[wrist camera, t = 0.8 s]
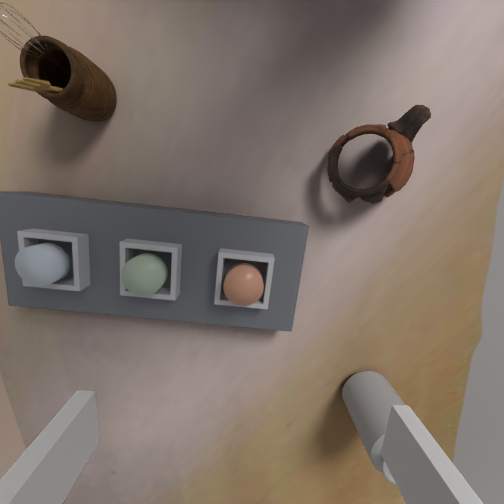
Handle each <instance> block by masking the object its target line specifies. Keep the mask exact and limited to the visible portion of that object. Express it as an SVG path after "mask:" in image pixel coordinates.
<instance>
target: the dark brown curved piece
mask: <svg viewBox="0 0 504 504" xmlns="http://www.w3.org/2000/svg"><path fill="white" fill-rule="evenodd" d="M430 117H431V113H430V109H429V108H427V107H425V106H424V105H415V106H414V107H412V108H411V109H410V110H409V111H408V112H406V113H405V114H404V115H403V116H402V117H401V118H400V119H399V120H397V121H395V122H390V123H388V127H389V128H386V126H385V125H364V126H360V127H356V128H355V129H353V130H351V131H350V132H348V133H347V134H346V135H342V136H341V137H340V138H339V139H338V140H337V141H336V143H335V144H334V146H333V147H332V150H331V151H330V153H329V157H328V167H327V168H328V176H329V180H330V182H332V185H333V188H334V189H335V190H336V191H337V192H338V193H339V194H340V195H341V196H342V197H343V198H344V199H345V200H346V201H347V202H349V203H350V202H351V201H353V200H354V199H355V198H357V197H360V198H361V199H362V200H364V201H365V202H371V203H372V204H374V203H377V202H380V201H381V200H382V197H383V195H385V196H386V197H389V196H391V195H392V194H394V193H395V192H396V191H399V190H400V189H401V188H402V187H403V186H405V184H406V183H407V181H408V180H409V178H410V176H411V174H412V170H413V164H414V150H413V149H412V141H413V139H414V137H415V136H416V134H417V132H418V131H419V129H420V128H421V127H422V125H423V124H424V123H425V122H426V121H427V120H428V119H429V118H430ZM363 134H377V135H379V136H381V137H384V138H385V139H386V140H387V141H388V142H389V143H390V145H391V147H392V150H393V164H392V167H391V169H390V171H389V173H388V174H387V176H386V177H385V178H384V180H382V181H381V182H380V183H379V184H377V185H375V186H373V187H371V188H367V189H354V188H351V187H349V186H347V185H346V184H345V183H344V182H343V181H342V180H341V178H340V176H339V173H338V167H337V164H338V159H339V155H340V153H341V151H342V147H343V146H344V145H345V144H346V143H347V142H348V141H349V140H352V139H354V138H355V137H358V136H360V135H363ZM388 185H390V186H391V188H390V189H389V190H387V191H386V189H387V187H388ZM385 191H386V192H385Z"/></svg>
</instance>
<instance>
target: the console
mask: <svg viewBox="0 0 504 504" xmlns="http://www.w3.org/2000/svg"><path fill="white" fill-rule="evenodd" d="M308 228H309V226H307V225H306V224H304V223H302V222H294V221H285V220H276V219H267V218H258V217H249V216H240V215H231V214H222V213H213V212H204V211H195V210H186V209H177V208H168V207H159V206H150V205H141V204H132V203H124V202H115V201H106V200H97V199H88V198H79V197H70V196H61V195H52V194H43V193H34V192H5V191H0V238H1V246H2V254H3V263H4V271H5V279H6V287H7V295H8V303H9V305H10V306H21V307H32V308H43V309H54V310H64V311H75V312H86V313H97V314H108V315H118V316H129V317H140V318H151V319H162V320H172V321H183V322H194V323H205V324H216V325H226V326H237V327H248V328H259V329H270V330H280V331H292V325H293V319H294V313H295V307H296V301H297V295H298V289H299V283H300V277H301V270H302V264H303V258H304V252H305V246H306V240H307V234H308ZM41 243H53V244H56V245H58V246H60V247H61V248H63V249H64V250H65V251H66V253H67V254H68V256H69V258H70V262H71V267H70V271H69V273H68V274H67V275H66V276H65V277H64V278H62V279H60V280H57V281H55V282H53V283H51V284H49V285H46V286H34V285H31V284H29V283H27V282H25V281H24V280H23V279H22V278H21V277H20V276H19V274H18V273H17V271H16V268H15V257H16V255H17V253H18V252H19V251H20V250H21V249H23V248H25V247H29V246H33V245H37V244H41ZM143 253H152V254H155V255H157V256H159V257H160V258H161V259H162V260H163V261H164V262H165V263H166V265H167V268H168V277H167V280H166V282H165V283H164V284H163V285H162V286H161V288H160V289H159V290H158V291H157V292H155V293H154V294H152V295H149V296H138V295H135V294H133V293H131V292H130V291H128V290H127V289H126V288H125V286H124V284H123V282H122V279H121V271H122V268H123V266H124V265H125V263H126V262H128V261H129V260H131V259H132V258H134V257H136V256H138V255H140V254H143ZM239 263H248V264H251V265H253V266H255V267H256V268H257V269H258V270H259V271H260V273H261V275H262V279H263V284H264V290H263V293H262V296H261V297H260V299H259V300H258V301H256V302H255V303H253V304H251V305H248V306H239V305H236V304H234V303H232V302H231V301H230V300H228V298H227V297H226V295H225V293H224V288H223V286H224V281H225V277H226V274H227V272H228V270H229V269H230V268H231V267H233V266H234V265H236V264H239Z"/></svg>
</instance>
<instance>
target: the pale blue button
mask: <svg viewBox="0 0 504 504" xmlns="http://www.w3.org/2000/svg"><path fill="white" fill-rule="evenodd" d="M70 267H71V262H70V258H69V256H68V254H67V253H66V251H65V250H64V249H63V248H61V247H60V246H58V245H56V244H53V243H41V244H37V245H33V246H29V247H25V248H23V249H21V250H20V251H19V252H18V253H17V255H16V257H15V268H16V271H17V273H18V274H19V276H20V277H21V278H22V279H23V280H24V281H25V282H27V283H29V284H31V285H34V286H46V285H49V284H51V283H53V282H55V281H57V280H60V279H62V278H64V277H65V276H66V275H67V274H68V273H69V271H70Z"/></svg>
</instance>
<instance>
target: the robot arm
mask: <svg viewBox="0 0 504 504" xmlns="http://www.w3.org/2000/svg"><path fill="white" fill-rule="evenodd" d="M98 444H99V431H98V419H97V406H96V394H95V391H80V390H77V391H76V392H75V393H74V395H73V396H72V397H71V398H70V399H69V400H68V401H67V403H66V404H65V405H64V406H63V407H62V408H61V410H60V411H59V412H58V413H57V414H56V415H55V417H54V418H53V419H52V420H51V421H50V422H49V423H48V425H47V426H46V427H45V428H44V429H43V430H42V432H41V433H40V434H39V435H38V436H37V437H36V439H35V440H34V441H33V442H32V443H31V444H30V445H29V447H28V448H27V449H26V450H25V451H24V452H23V454H22V455H21V456H20V457H19V458H18V460H16V462H15V463H14V464H13V465H12V466H11V467H10V469H9V470H8V471H7V472H6V473H5V475H4V476H3V477H2V478H1V479H0V504H63V503H64V501H65V499H66V498H67V496H68V494H69V492H70V491H71V489H72V487H73V486H74V484H75V482H76V481H77V479H78V477H79V476H80V474H81V472H82V471H83V469H84V467H85V466H86V464H87V462H88V461H89V459H90V457H91V455H92V454H93V452H94V450H95V449H96V447H97V445H98ZM381 455H382V457H383V459H384V461H385V463H386V465H387V467H388V469H389V471H390V473H391V475H392V477H393V479H394V480H395V482H396V484H397V486H398V488H399V490H400V492H401V494H402V496H403V498H404V500H405V502H406V504H483V503H482V501H481V500H480V499H479V497H478V496H477V495H476V494H475V493H474V491H473V490H472V488H471V487H470V486H469V484H468V483H467V482H466V480H465V479H464V478H463V476H462V475H461V474H460V472H459V471H458V470H457V469H456V467H455V466H454V465H453V463H452V462H451V461H450V459H449V458H448V457H447V455H446V454H445V453H444V451H443V450H442V449H441V448H440V446H439V445H438V444H437V442H436V441H435V440H434V438H433V437H432V436H431V434H430V433H429V432H428V430H427V429H426V428H425V427H424V425H423V424H422V423H421V421H420V420H419V419H418V417H417V416H416V415H415V413H414V412H413V411H412V409H411V408H410V407H409V406H404V405H392V407H391V412H390V416H389V420H388V424H387V428H386V432H385V436H384V441H383V445H382V449H381Z"/></svg>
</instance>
